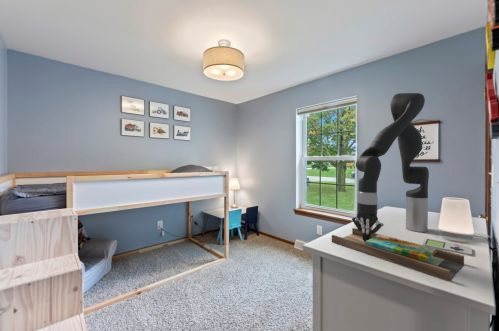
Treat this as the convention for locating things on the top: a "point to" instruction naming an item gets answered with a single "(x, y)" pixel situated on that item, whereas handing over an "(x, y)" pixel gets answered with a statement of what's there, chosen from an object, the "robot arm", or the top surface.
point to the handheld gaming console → (448, 246)
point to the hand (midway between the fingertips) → (366, 241)
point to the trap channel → (437, 265)
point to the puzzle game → (402, 247)
